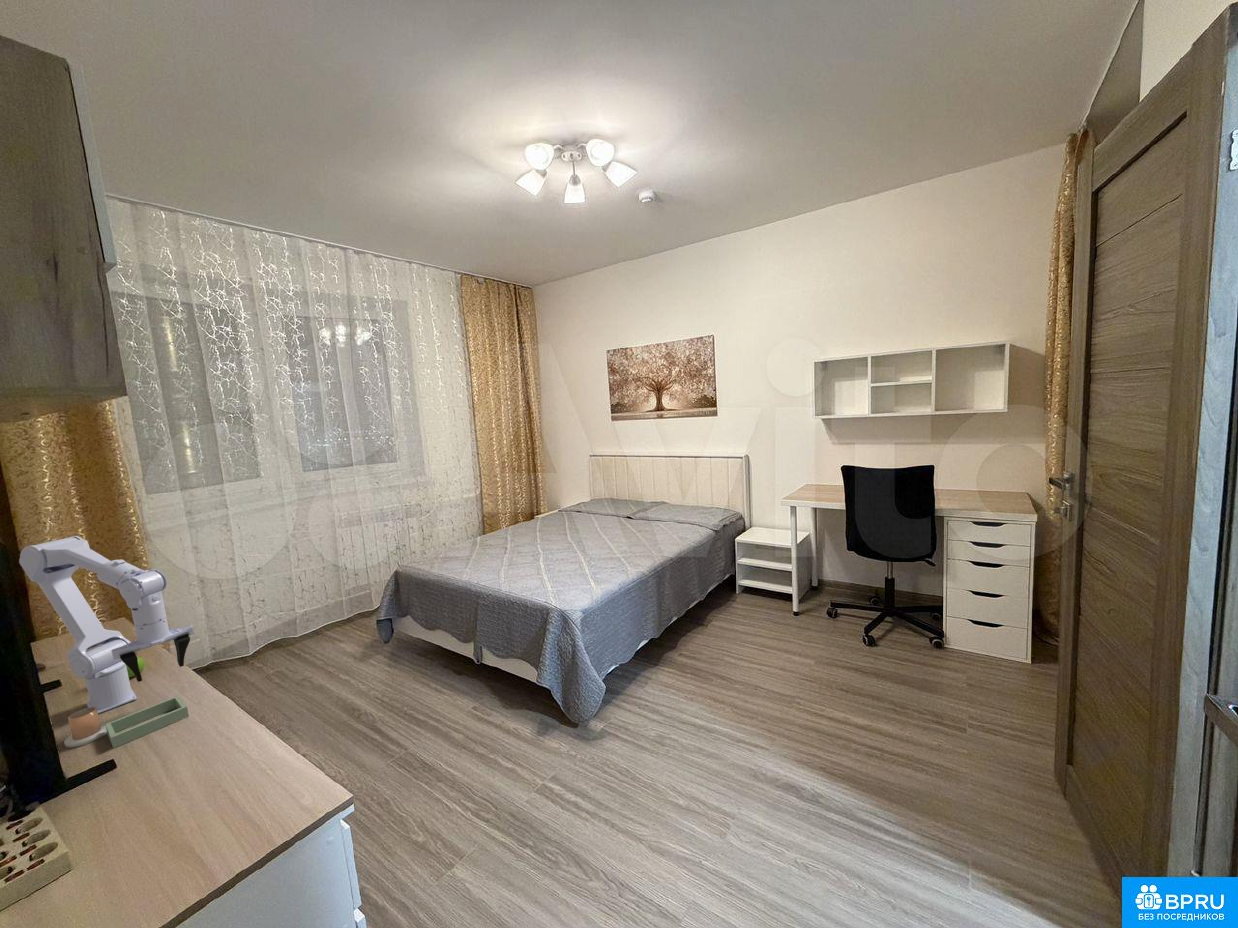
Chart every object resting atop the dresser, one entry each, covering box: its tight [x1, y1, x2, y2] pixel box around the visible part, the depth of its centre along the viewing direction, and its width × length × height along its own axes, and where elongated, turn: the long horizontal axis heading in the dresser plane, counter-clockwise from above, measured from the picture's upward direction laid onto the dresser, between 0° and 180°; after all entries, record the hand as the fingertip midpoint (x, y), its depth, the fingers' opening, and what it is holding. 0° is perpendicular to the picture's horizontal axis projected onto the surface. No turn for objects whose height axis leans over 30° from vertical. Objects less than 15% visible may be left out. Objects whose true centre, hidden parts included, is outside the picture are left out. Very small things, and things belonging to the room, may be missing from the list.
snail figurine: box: [126, 635, 146, 678], centre depth 134 cm, size 5×6×12 cm
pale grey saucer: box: [63, 722, 108, 749], centre depth 109 cm, size 7×7×1 cm
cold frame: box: [105, 695, 190, 749], centre depth 111 cm, size 9×13×2 cm
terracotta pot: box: [67, 707, 101, 740], centre depth 108 cm, size 4×4×5 cm
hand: (160, 672), depth 119 cm, fingers open, 7 cm apart
